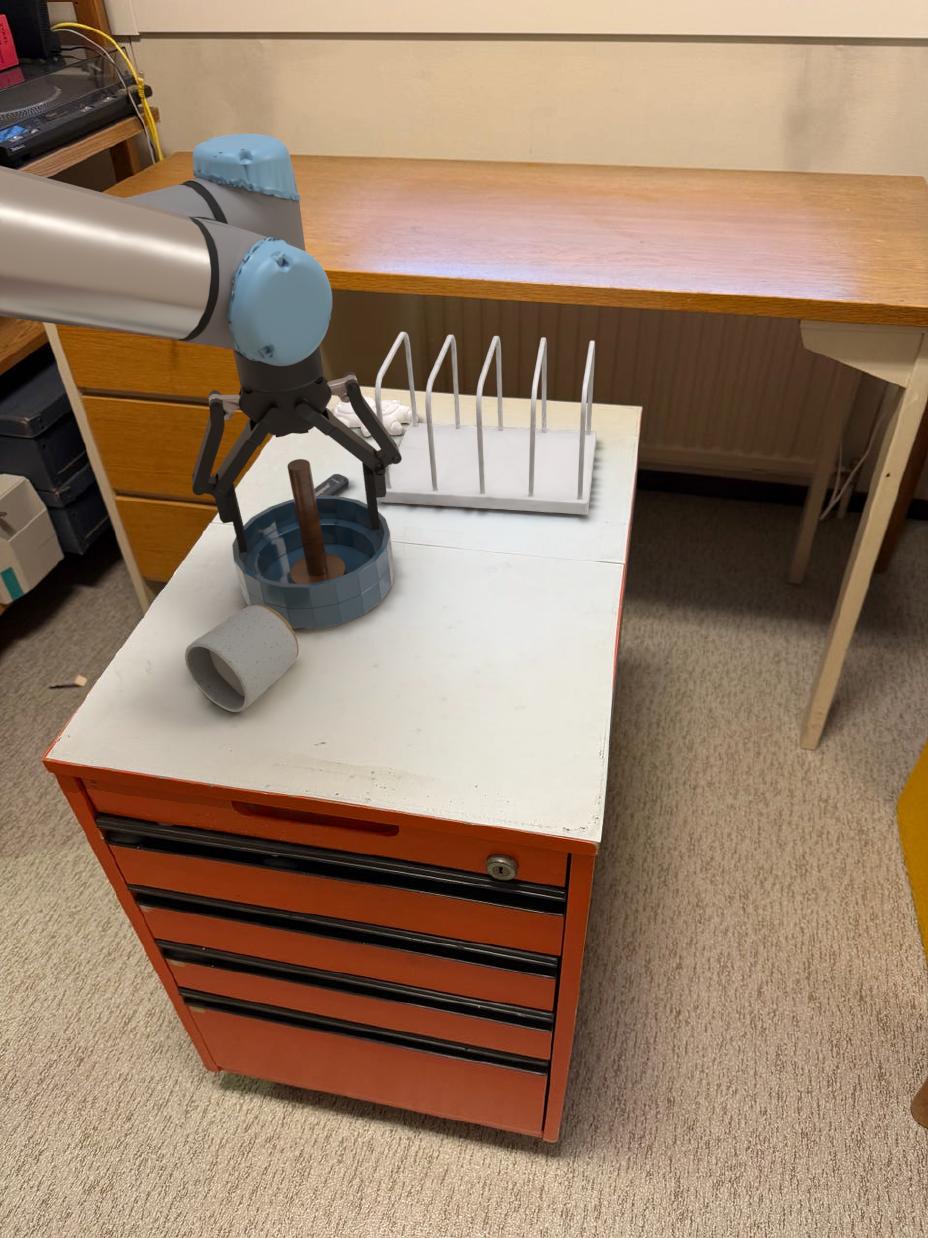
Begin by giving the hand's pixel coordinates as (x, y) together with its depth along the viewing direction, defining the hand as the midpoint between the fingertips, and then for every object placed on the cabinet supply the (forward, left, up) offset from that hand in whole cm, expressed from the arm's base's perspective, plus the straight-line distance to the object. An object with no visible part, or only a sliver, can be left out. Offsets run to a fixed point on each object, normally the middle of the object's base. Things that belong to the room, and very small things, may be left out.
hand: (309, 533), depth 91 cm
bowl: (0, 0, -7) cm, 7 cm away
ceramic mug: (-9, -13, -7) cm, 17 cm away
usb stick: (+2, +16, -7) cm, 18 cm away
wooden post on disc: (0, 0, -6) cm, 6 cm away
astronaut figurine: (+12, +34, -7) cm, 37 cm away
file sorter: (+24, +16, -7) cm, 30 cm away
